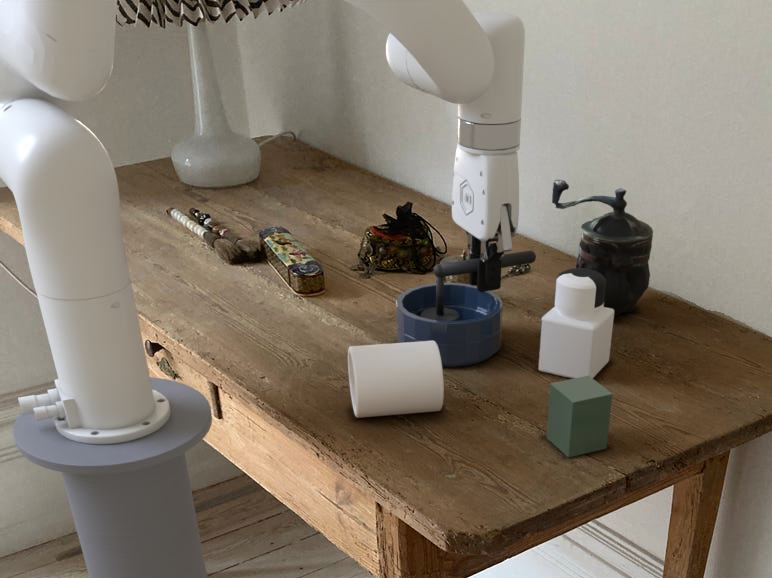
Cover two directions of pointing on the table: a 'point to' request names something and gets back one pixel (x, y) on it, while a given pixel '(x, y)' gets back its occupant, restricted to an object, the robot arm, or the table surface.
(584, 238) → the coffee grinder
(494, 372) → the table surface
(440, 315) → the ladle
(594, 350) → the medicine bottle
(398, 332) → the bowl
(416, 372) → the mug
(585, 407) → the green rectangular block
